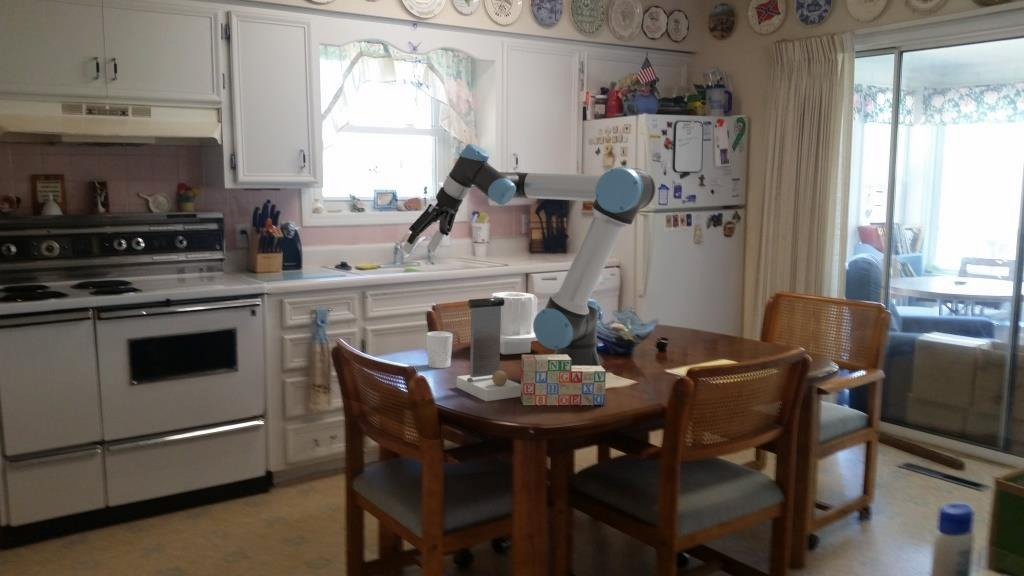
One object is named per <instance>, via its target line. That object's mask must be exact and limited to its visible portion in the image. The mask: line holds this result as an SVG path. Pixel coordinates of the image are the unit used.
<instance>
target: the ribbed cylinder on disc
mask: <svg viewBox="0 0 1024 576" xmlns="http://www.w3.org/2000/svg"><path fill="white" fill-rule="evenodd" d="M501 297H502V298H504V301H505V303H504V306H501V328H500V354H502V355H515V354H516V355H518V354H519V355H520V354H530V353H531V348H532V342H536V341H538V340H537V338H536V336H535V333H534V330H533V323H534V319H535V317H536V315H537V314H538V297H537V296H536V295H534V294H533V293H528V292H519V291H518V292H517V291H501V292H493V293H489V295H488V297H487V298H501ZM538 342H539V341H538Z"/></svg>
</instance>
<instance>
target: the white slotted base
mask: <svg viewBox="0 0 1024 576" xmlns="http://www.w3.org/2000/svg"><path fill="white" fill-rule="evenodd" d="M456 388H458V389H459V390H462V391H464V392H466V393H468V394H470V395H472V396H474V397H476V398H478V399H480V400H482V401H484V402H491V401H497V400H498V401H499V400H504V399H511V398H519V397H520V398H521V383H518V382H516V381H512V380H510V379H508V375H507V373H506V372H505V371H503V370H500V369H499V371H496V372H495V373H494V374H493V375H490V376H482V377H474V378H472V377H470V374H468V375H467V374H466V375H459V376H458V375H457V376H456Z"/></svg>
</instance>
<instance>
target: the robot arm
mask: <svg viewBox="0 0 1024 576" xmlns="http://www.w3.org/2000/svg"><path fill="white" fill-rule="evenodd" d="M489 158H490V154H489V153H488V152H487V151H486V149H484V148H482V147H480V146H478V145H476V144H474V143H467V145H465V147H464V148H463V150H462V151H461V153H460V154H459V157H458V158H457V159H456V161H455V163H454V165H453V167H452V168H451V171H449V174H448V175H446V178H445V180H444V182H443V183H442V187H441V186H440V189H439V190H438V191H437V193H436V196H435V199H436V201H437V202H436V203H435V204H432V203H430V204H428V206H427V207H426V209H425V210H424V211H423V212H422V213H421V214H420V216H418V218H417V219H415V221H414V222H413V223H412V224H411V225H410V227H409V228H408V230H409V231H410V234H409V236H408V237H407V240H406V241H405V243H404V244H403V247H402V248H401V249H402V250H403V251H404V253H406V254H407V255H410V254H411V253H412V251H413V250H414V247H415V246H416V245H417V242H418V241H419V239H420V238H421V236H420V235H421V234H423V232H425V230H427V229H429V227H430V226H432V224H434V223H437V222H439V224H438V229H437V230H436V231H435V232H434V234H433V236H432V237H431V239H430V241H429V242H428V244H427V246H426V248H427V249H428V250H429V251H431V252H432V253H435V251H436V250H437V249H438V246H439V245H440V243H441V242H442V240H443V238H444V237H445V236H446V237H447V236H449V235H450V233H451V232H452V229H453V226H454V222H455V219H456V215H457V213H458V211H459V208H460V206H461V205H462V203H463V201H464V200H463V199H465V198H466V197H467V195H468V193H469V192H470V190H471V188H472V187H473V186H474V187H475V188H476V189H478V190H479V191H480V192H481V193H483V194H484V195H485V196H486V197H488V198H489V199H490V200H491V202H495V203H496V204H497V205H499V206H504V205H506V204H508V203H509V202H510V201H511V200H512V199H515V198H516V199H543V200H563V201H564V200H566V201H584V202H585V201H586V202H588V201H589V202H593V203H592V205H591V208H592V211H593V217H592V219H591V222H590V224H589V226H588V228H587V230H586V232H585V233H584V234H585V235H584V236H583V238H582V241H581V243H580V245H579V248H578V250H577V252H576V253H575V255H574V258H573V259H572V262H571V264H570V267H569V269H568V271H567V273H566V275H565V277H564V279H563V281H562V284H561V286H560V288H559V290H558V291H556V292H552V293H551V295H550V296H549V298H548V301H547V303H546V306H545V307H544V309H541V310H540V311H539V312H537V315H536V317H535V319H534V323H533V330H534V333H535V336H536V338H537V340H538V343H540V344H541V345H542V346H543V347H546V348H547V349H551V350H555V352H554V354H553V355H568V356H569V357H570V358H571V360H572V366H601V367H602V365H601V361H600V359H599V356H598V352H597V337H598V336H597V333H598V313H599V309H598V302H597V300H596V299H594V298H591V296H592V294H593V292H594V290H595V288H596V286H597V284H598V282H599V280H600V278H601V276H602V273H603V271H604V269H605V268H606V266H607V262H608V261H609V259H610V256H611V254H612V252H613V251H614V249H615V246H616V244H617V243H618V240H619V238H620V235H621V234H622V231H623V230H624V229H625V228H626V227H629V226H631V225H632V224H633V221H634V220H635V218H636V216H637V214H638V211H640V210H642V209H644V208H646V207H648V206H649V205H650V204H651V202H652V201H653V200H654V197H655V195H656V182H655V181H654V178H653V177H652V175H651V174H650V173H649V172H647V171H645V170H644V169H641V168H639V167H638V168H637V167H636V168H635V167H628V166H616V167H614V168H611V169H608V170H607V171H605V172H604V173H603V174H588V173H587V174H586V173H585V174H584V173H581V174H580V173H550V172H549V173H548V172H547V173H545V172H522V171H521V172H520V171H518V172H517V171H516V172H513V171H511V172H508V171H506V172H504V171H499V170H497V169H496V168H494V167H493V166H492V165H491V164H489V163H488V161H489Z"/></svg>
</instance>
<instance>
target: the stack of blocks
mask: <svg viewBox="0 0 1024 576" xmlns="http://www.w3.org/2000/svg"><path fill="white" fill-rule="evenodd" d="M606 372H607V371H606V370H605V368H604V367H603V366H602V365H601V366H572V360H571V358H570V357H569V356H568V355H554V354H553V353H552V354H521V365H520V385H521V396H520V402H521V403H523V404H522V406H523V405H538V406H539V407H541V406H540V405H548V406H547V407H549V405H557V406H556V407H558V405H569V406H570V405H580V406H582V405H587V406H588V405H591V406H594V405H601V406H602V405H603V406H605V403H606V402H605V401H606V379H607V375H606V374H607V373H606ZM587 406H586V407H587Z"/></svg>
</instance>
